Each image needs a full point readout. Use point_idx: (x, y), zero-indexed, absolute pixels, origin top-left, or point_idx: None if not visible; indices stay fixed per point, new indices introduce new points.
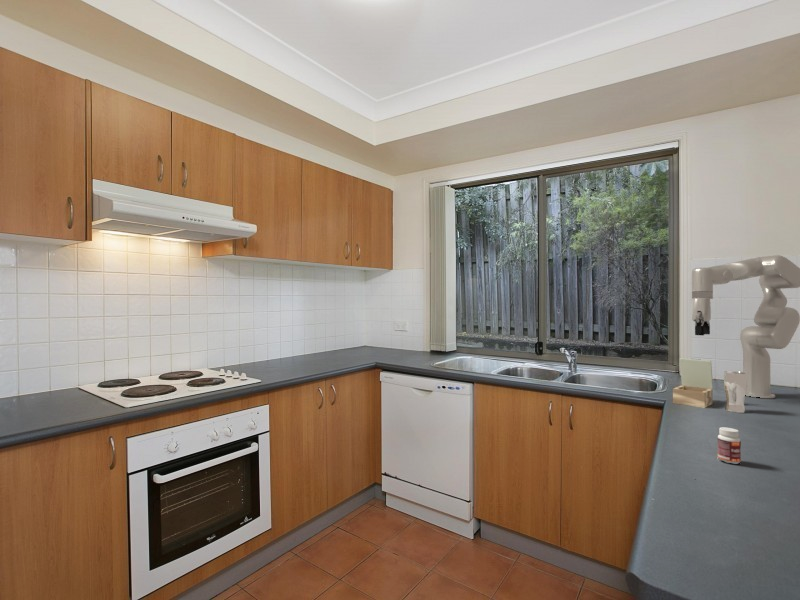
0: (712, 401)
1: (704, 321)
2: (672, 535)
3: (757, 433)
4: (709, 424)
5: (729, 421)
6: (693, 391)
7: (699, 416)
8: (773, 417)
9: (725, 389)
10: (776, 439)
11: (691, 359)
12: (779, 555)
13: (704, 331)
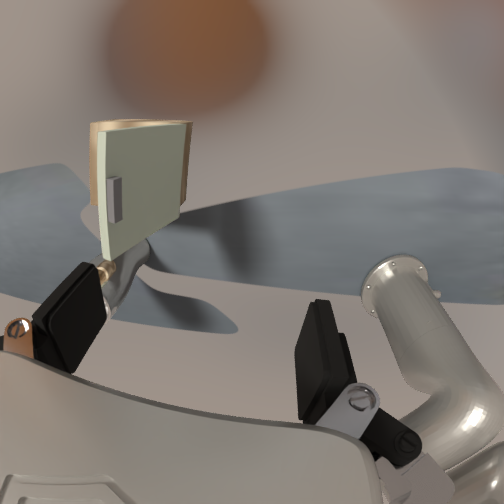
0: (183, 201)
1: (365, 442)
2: None
3: (23, 272)
4: (12, 219)
5: (45, 241)
6: (90, 177)
7: (38, 198)
8: (134, 302)
9: (96, 256)
10: (19, 287)
11: (100, 185)
12: None
13: (305, 342)
